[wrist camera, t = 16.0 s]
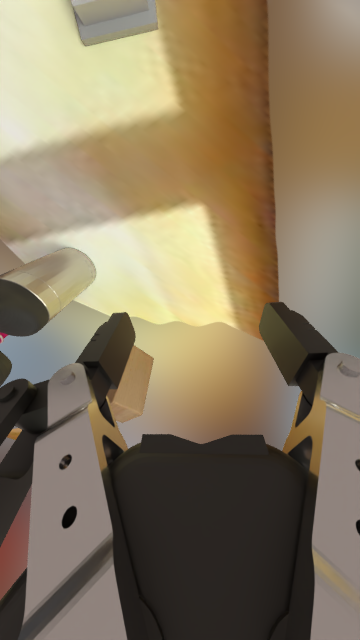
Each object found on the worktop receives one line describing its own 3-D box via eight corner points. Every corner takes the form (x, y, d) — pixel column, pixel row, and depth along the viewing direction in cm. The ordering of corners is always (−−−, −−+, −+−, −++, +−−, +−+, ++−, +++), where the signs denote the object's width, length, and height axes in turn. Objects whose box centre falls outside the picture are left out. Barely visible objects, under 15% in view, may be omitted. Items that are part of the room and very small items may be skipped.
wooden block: (117, 355, 60) (92, 412, 44) (133, 344, 55) (112, 402, 40) (138, 367, 64) (122, 423, 48) (154, 357, 60) (142, 415, 44)
